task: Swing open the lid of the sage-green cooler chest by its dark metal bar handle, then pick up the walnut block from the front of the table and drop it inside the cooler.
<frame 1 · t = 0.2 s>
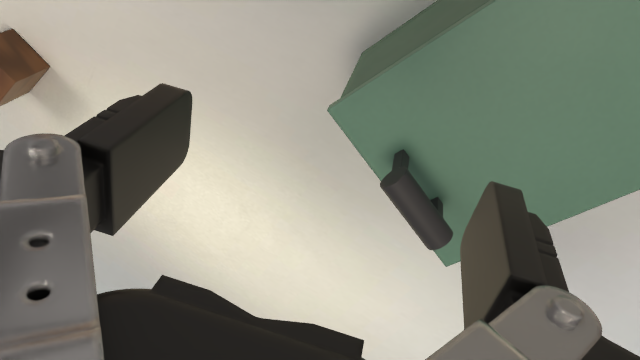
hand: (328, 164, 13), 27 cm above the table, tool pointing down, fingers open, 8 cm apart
block: (21, 61, 45), on the table
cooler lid: (534, 136, 26), point 13 cm above the table, hinge at 0.0°
cooler: (511, 62, 36), on the table
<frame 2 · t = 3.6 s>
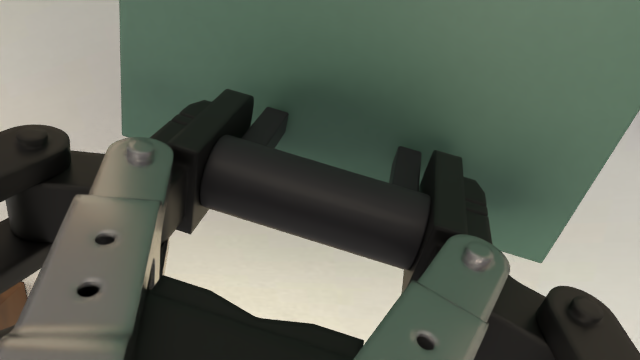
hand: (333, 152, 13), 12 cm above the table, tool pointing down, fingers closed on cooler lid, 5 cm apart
block: (4, 293, 40), on the table
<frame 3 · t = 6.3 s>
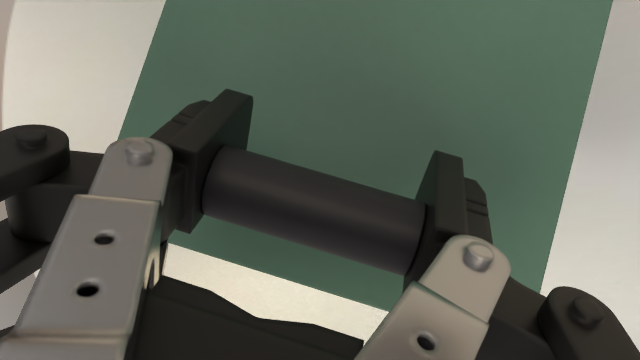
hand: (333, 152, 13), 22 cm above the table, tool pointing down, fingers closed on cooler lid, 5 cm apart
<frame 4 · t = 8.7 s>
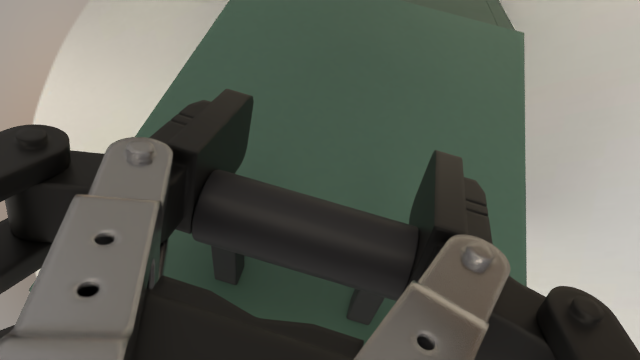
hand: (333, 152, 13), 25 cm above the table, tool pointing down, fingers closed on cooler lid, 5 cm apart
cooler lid: (355, 90, 17), point 20 cm above the table, hinge at 70.8°, touching gripper
cooler: (365, 90, 38), on the table
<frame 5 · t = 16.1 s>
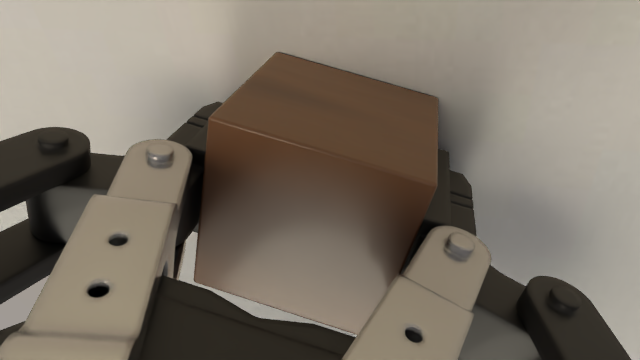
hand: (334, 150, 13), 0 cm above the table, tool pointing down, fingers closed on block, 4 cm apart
block: (337, 146, 14), on the table, touching gripper
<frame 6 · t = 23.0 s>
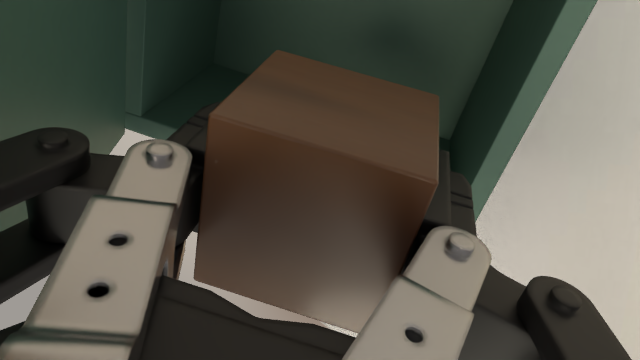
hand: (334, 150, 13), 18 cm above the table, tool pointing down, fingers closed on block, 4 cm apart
block: (337, 144, 14), point 18 cm above the table, touching gripper
cooler: (358, 4, 28), on the table
when the fingers open (11 cm above the table, at t = 25.3 s): block drops 10 cm, resting on cooler.
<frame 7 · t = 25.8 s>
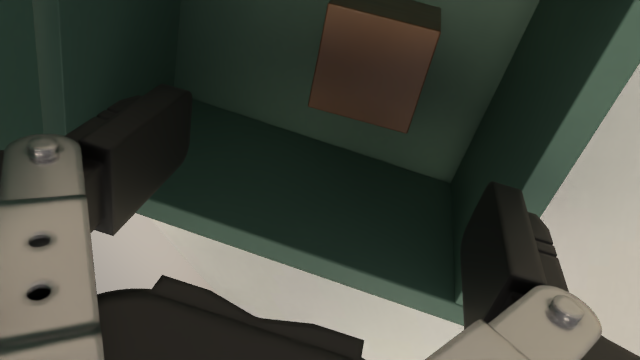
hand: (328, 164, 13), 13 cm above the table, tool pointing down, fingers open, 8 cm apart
block: (381, 43, 23), point 1 cm above the table, touching cooler
cooler: (342, 25, 24), on the table
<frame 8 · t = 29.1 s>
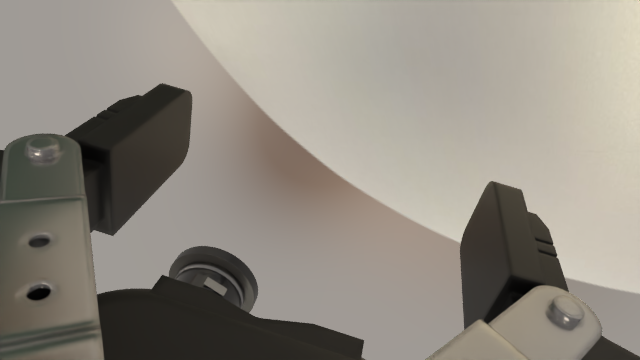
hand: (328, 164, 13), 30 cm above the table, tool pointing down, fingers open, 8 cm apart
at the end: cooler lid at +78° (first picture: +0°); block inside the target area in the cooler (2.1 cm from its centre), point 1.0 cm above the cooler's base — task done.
